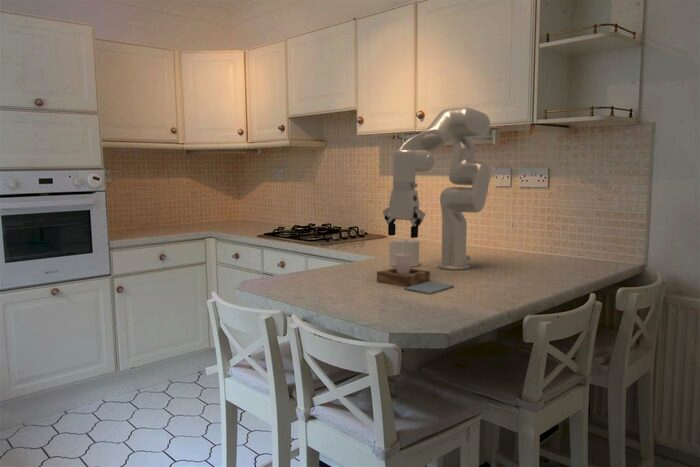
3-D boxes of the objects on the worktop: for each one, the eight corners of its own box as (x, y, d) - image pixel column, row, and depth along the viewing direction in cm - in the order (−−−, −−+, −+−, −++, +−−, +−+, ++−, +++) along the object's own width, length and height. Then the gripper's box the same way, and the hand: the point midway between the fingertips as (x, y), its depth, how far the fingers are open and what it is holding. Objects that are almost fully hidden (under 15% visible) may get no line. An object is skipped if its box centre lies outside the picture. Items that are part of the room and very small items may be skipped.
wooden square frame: (400, 276, 196) (400, 266, 195) (429, 281, 187) (429, 271, 186) (376, 281, 186) (376, 271, 186) (406, 287, 177) (406, 276, 177)
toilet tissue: (422, 263, 222) (422, 239, 220) (413, 268, 211) (413, 243, 210) (398, 261, 226) (398, 238, 225) (387, 266, 215) (387, 241, 214)
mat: (429, 283, 184) (429, 281, 184) (454, 287, 177) (454, 285, 177) (403, 289, 174) (404, 287, 174) (429, 294, 167) (429, 292, 167)
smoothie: (391, 280, 188) (391, 240, 187) (407, 279, 191) (407, 239, 189) (399, 284, 183) (399, 243, 181) (415, 282, 185) (416, 242, 183)
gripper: (431, 186, 179) (430, 237, 181) (391, 185, 191) (390, 233, 193) (418, 186, 174) (416, 239, 176) (377, 185, 186) (376, 235, 187)
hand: (402, 236), depth 184 cm, fingers open, 9 cm apart
